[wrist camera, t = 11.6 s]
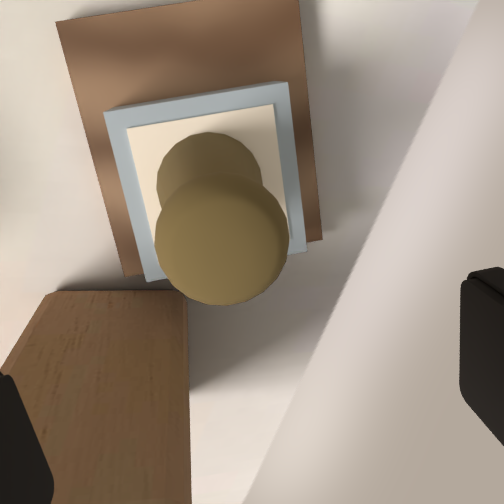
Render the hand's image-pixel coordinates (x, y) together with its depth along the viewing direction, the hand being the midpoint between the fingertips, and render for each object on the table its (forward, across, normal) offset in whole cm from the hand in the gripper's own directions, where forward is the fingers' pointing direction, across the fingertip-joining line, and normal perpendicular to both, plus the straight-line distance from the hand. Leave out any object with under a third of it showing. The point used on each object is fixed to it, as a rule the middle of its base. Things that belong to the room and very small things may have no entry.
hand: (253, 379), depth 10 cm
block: (+24, +9, +12) cm, 29 cm away
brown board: (+24, 0, -2) cm, 24 cm away
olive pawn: (+19, 0, 0) cm, 19 cm away
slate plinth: (+23, 0, 0) cm, 23 cm away
